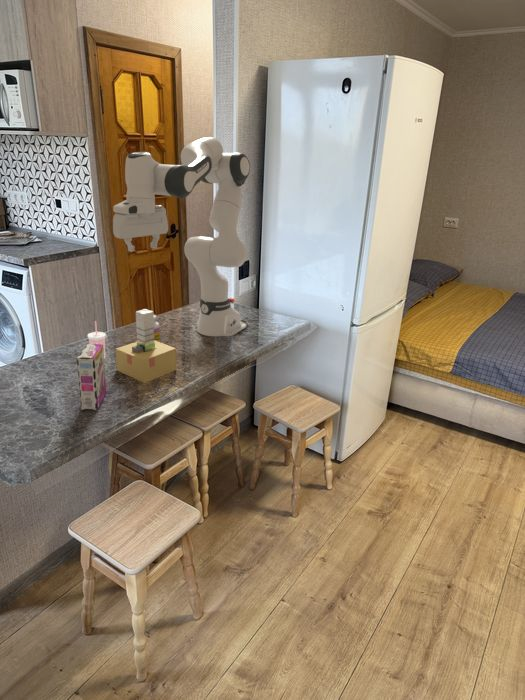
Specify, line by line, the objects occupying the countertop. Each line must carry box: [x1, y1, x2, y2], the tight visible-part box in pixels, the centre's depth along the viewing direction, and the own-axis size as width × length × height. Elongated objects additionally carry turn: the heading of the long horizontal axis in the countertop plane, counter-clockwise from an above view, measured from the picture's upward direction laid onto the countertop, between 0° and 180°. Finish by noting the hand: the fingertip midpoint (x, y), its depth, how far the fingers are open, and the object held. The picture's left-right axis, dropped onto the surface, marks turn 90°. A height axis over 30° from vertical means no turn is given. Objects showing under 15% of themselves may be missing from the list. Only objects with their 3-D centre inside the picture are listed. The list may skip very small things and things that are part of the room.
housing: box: [115, 340, 177, 384], centre depth 164 cm, size 14×14×10 cm
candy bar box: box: [76, 343, 107, 411], centre depth 140 cm, size 11×5×16 cm, turn 4°
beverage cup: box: [87, 320, 107, 360], centre depth 170 cm, size 6×6×14 cm
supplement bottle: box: [153, 314, 161, 343], centre depth 181 cm, size 7×7×13 cm
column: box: [135, 308, 155, 352], centre depth 161 cm, size 4×4×16 cm
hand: (142, 249), depth 160 cm, fingers open, 8 cm apart
